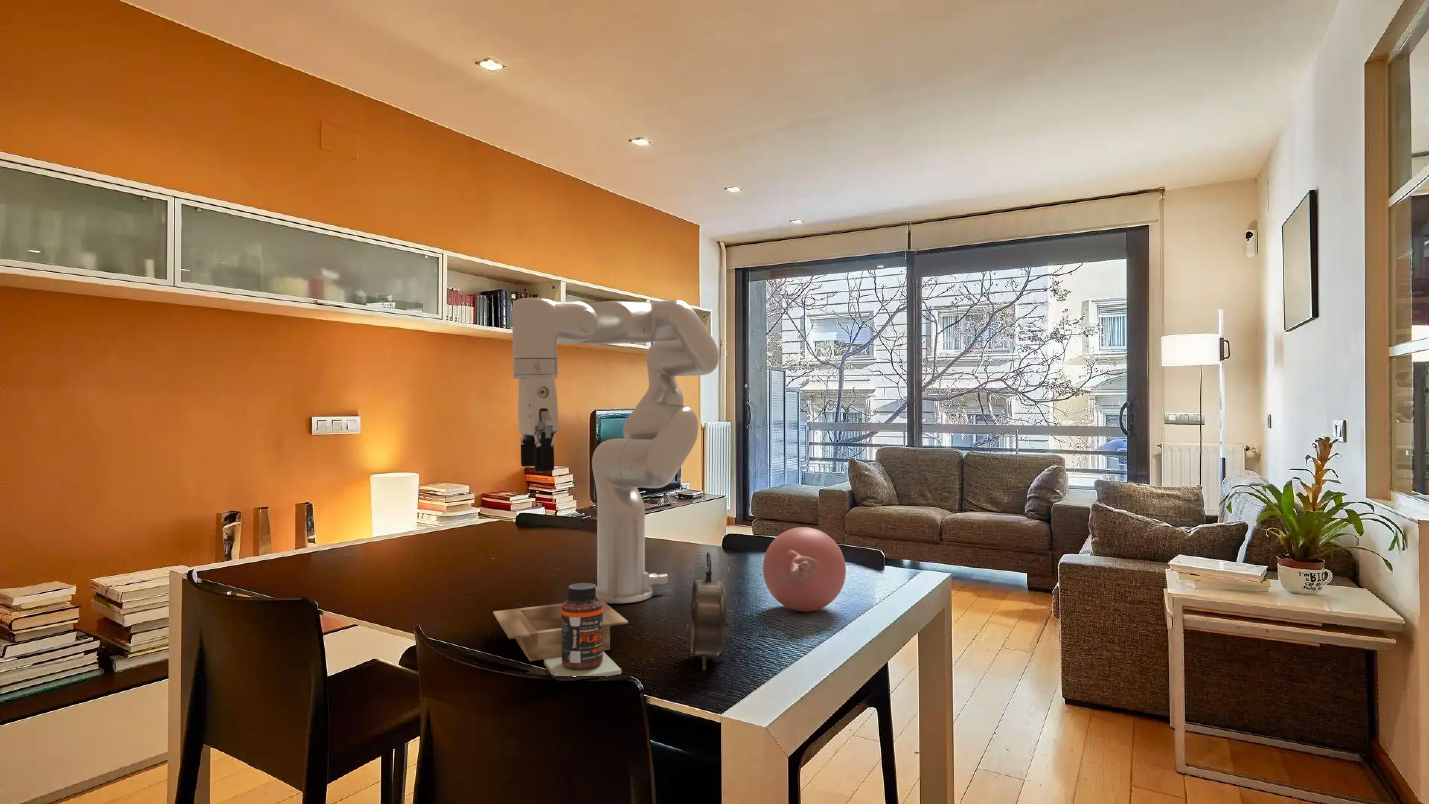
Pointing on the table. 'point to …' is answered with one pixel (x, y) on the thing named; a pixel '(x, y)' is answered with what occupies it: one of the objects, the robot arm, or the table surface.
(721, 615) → the alarm clock
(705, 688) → the table surface
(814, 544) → the salmon rubber sphere
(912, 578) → the table surface
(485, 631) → the table surface
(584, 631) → the supplement bottle
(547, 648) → the carton
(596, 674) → the coaster
